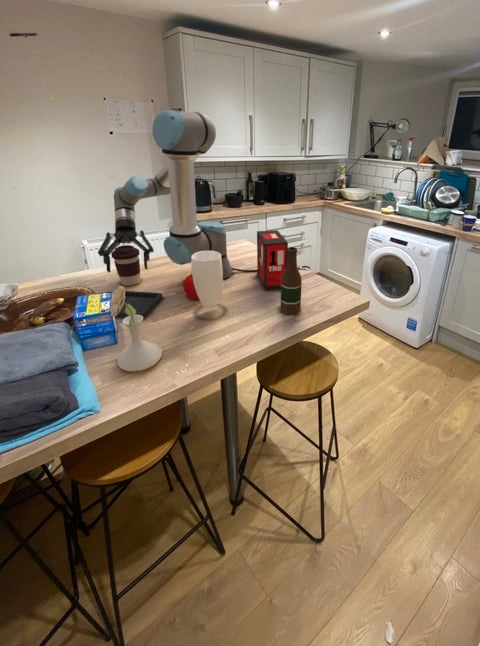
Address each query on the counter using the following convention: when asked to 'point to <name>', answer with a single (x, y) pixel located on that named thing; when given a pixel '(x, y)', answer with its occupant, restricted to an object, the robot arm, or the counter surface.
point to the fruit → (190, 287)
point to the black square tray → (140, 303)
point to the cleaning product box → (271, 258)
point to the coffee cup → (127, 264)
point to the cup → (207, 276)
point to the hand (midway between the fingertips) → (127, 269)
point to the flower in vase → (134, 338)
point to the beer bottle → (291, 285)
